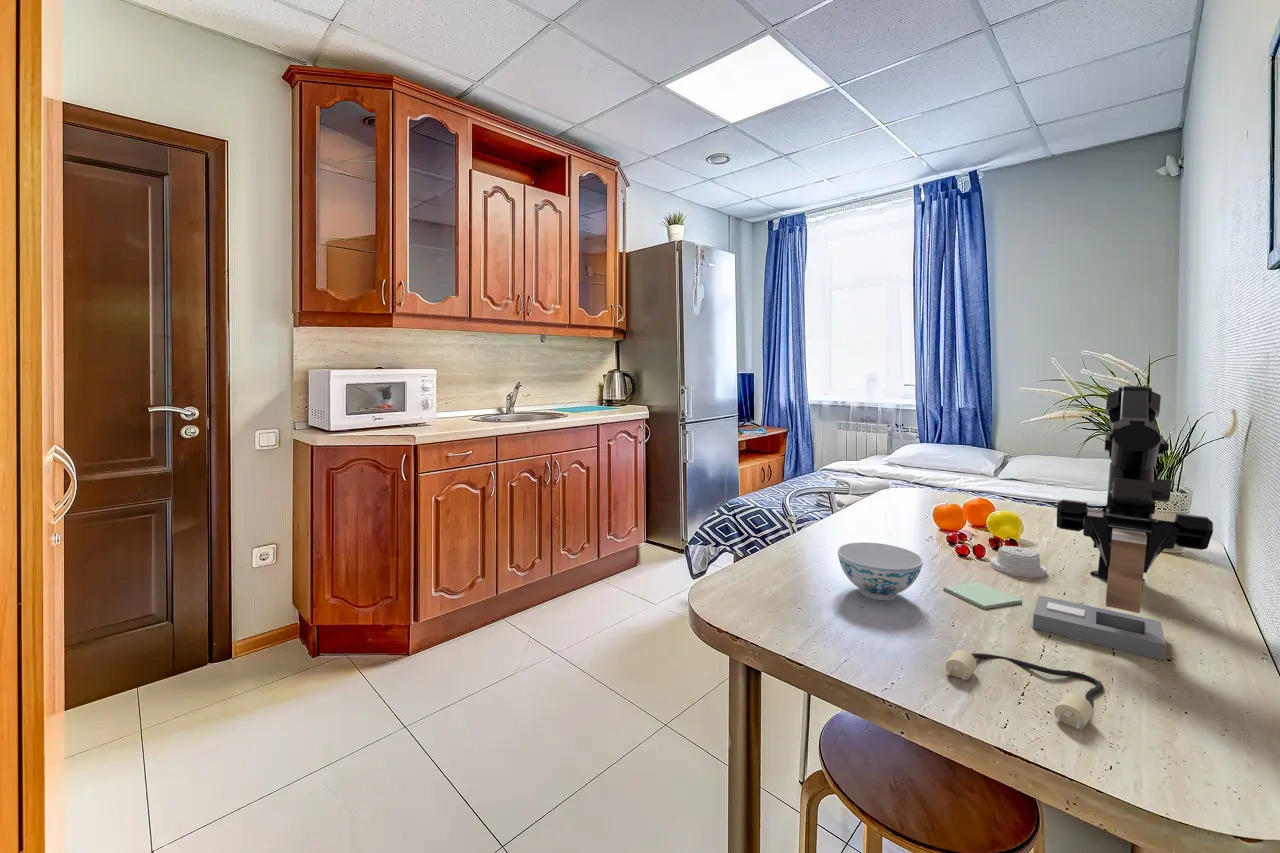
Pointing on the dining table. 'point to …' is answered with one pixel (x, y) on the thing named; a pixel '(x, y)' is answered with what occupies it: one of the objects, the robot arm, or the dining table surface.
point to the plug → (1126, 569)
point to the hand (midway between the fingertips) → (1126, 568)
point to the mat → (982, 595)
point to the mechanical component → (1018, 562)
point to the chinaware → (879, 568)
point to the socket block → (1100, 626)
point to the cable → (1071, 705)
